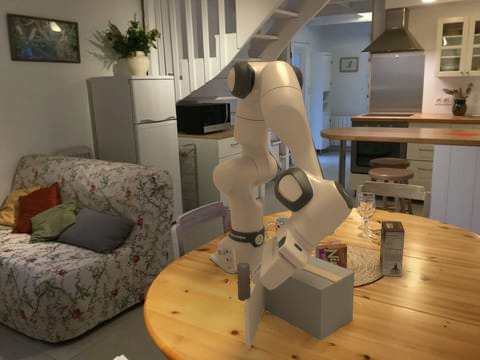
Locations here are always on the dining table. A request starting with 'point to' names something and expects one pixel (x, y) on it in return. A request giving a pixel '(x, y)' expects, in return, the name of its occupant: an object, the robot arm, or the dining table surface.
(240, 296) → the flap
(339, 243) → the candy box
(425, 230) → the dining table surface
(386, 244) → the coffee box
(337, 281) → the carton
